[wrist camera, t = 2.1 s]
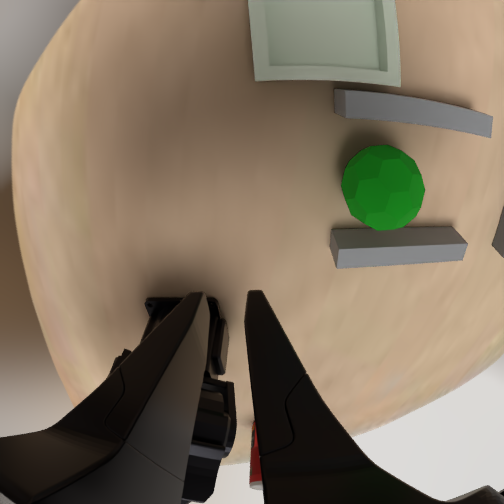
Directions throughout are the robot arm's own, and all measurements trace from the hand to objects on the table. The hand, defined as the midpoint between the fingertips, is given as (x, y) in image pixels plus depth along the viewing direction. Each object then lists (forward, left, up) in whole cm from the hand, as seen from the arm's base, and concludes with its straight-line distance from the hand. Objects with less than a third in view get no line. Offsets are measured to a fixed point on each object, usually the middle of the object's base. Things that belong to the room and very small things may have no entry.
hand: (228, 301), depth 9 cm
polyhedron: (+8, 0, -11) cm, 14 cm away
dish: (+5, +10, -11) cm, 16 cm away
